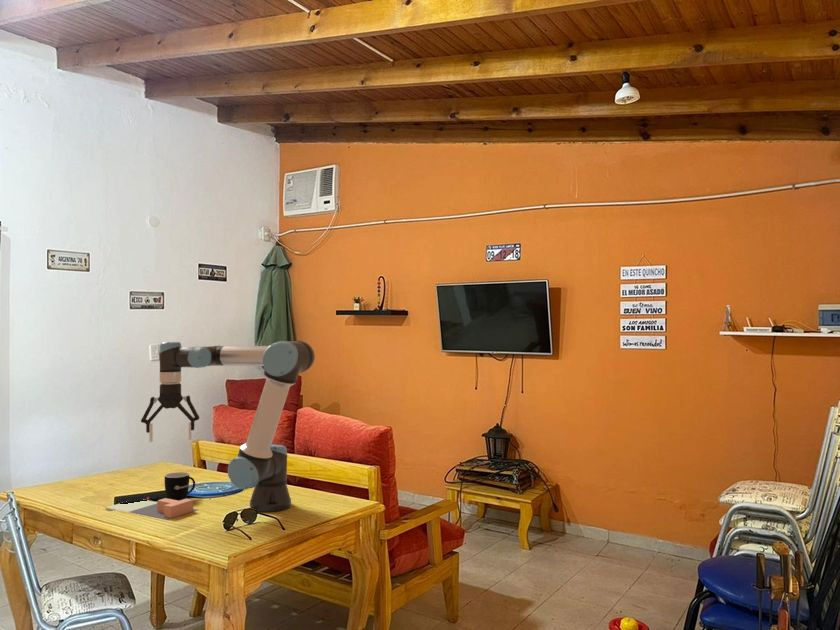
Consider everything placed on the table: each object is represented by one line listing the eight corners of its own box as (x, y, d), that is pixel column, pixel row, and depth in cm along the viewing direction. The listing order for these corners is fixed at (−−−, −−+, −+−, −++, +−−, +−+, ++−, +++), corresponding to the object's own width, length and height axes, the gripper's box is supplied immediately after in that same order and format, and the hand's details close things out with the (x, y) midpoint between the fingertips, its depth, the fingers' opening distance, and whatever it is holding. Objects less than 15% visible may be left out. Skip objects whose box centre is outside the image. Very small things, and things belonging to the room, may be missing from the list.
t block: (193, 510, 232) (193, 499, 232) (170, 518, 223) (171, 506, 223) (172, 507, 237) (172, 496, 237) (149, 514, 228) (149, 502, 228)
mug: (171, 505, 241) (171, 478, 242) (159, 501, 247) (160, 474, 247) (200, 499, 250) (201, 473, 251) (188, 495, 256) (189, 469, 256)
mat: (198, 512, 234) (198, 509, 234) (167, 522, 221) (167, 520, 221) (137, 500, 248) (137, 498, 248) (105, 509, 236) (105, 507, 236)
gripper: (206, 381, 247) (206, 436, 247) (135, 383, 241) (135, 440, 240) (205, 382, 240) (205, 439, 240) (132, 385, 233) (132, 444, 233)
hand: (170, 440), depth 240 cm, fingers open, 13 cm apart
